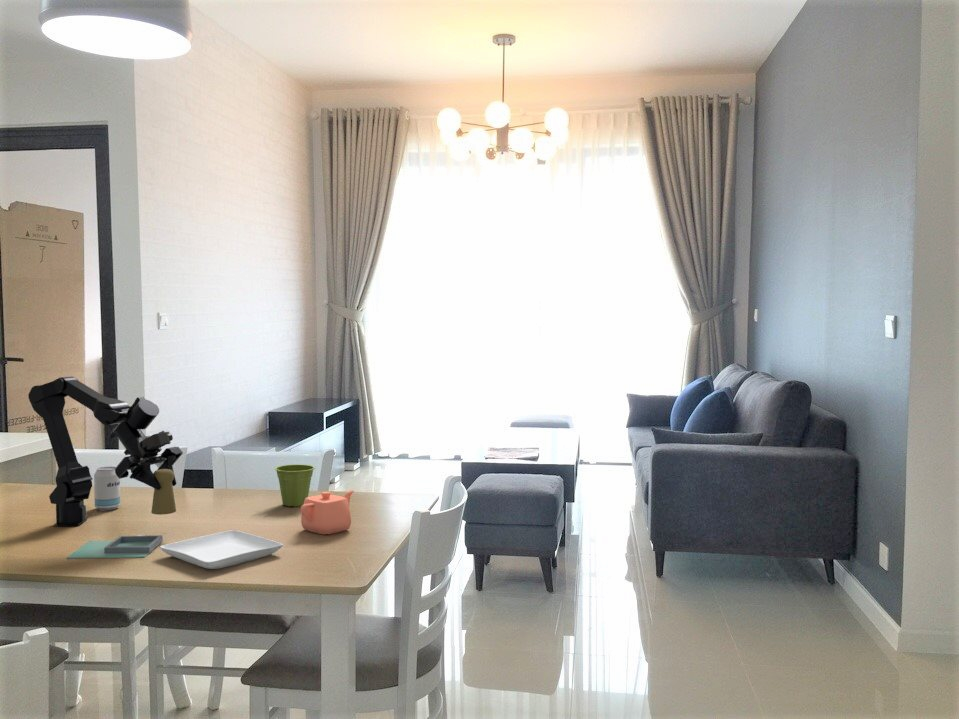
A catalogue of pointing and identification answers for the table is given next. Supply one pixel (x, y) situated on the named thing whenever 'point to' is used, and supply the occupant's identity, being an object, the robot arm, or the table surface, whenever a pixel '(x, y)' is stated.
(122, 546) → the board
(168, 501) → the cork
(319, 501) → the teapot
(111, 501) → the beverage can
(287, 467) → the plant pot
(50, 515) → the table surface
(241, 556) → the salad plate
